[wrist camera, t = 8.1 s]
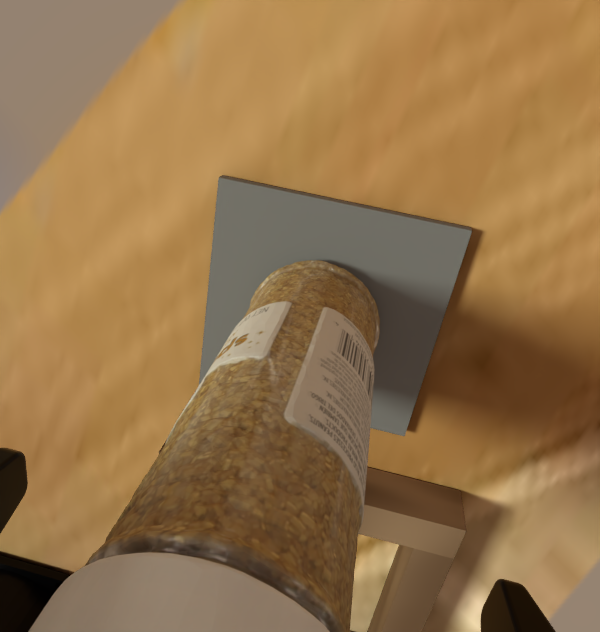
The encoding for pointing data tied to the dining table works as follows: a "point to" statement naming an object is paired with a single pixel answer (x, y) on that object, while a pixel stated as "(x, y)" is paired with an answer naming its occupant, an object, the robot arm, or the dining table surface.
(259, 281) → the grey flat square slab
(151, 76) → the dining table surface
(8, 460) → the robot arm
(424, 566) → the walnut collar stand
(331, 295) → the sprinkles bottle
